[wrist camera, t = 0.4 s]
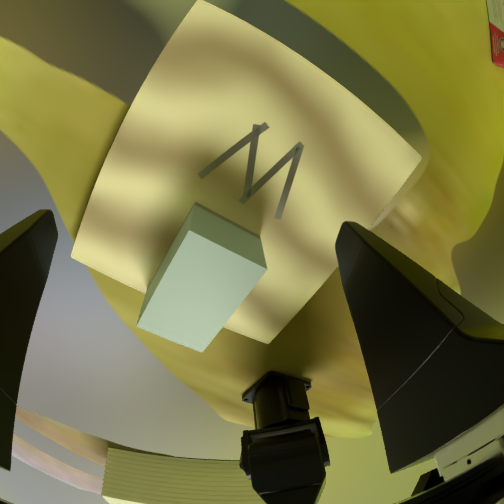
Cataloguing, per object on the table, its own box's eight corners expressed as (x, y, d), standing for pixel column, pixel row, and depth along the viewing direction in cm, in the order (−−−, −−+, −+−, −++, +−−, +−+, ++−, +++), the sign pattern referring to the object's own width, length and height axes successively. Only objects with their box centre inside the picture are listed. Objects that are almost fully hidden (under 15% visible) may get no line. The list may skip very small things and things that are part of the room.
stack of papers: (117, 464, 51) (112, 507, 41) (108, 446, 45) (101, 495, 36) (265, 475, 56) (271, 517, 47) (277, 459, 51) (284, 507, 41)
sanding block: (203, 314, 27) (202, 352, 24) (146, 289, 26) (136, 326, 22) (260, 236, 24) (267, 269, 20) (195, 201, 22) (189, 230, 18)
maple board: (266, 333, 31) (268, 344, 30) (76, 247, 25) (70, 257, 23) (413, 153, 23) (422, 157, 21) (200, 3, 16) (198, -2, 15)
